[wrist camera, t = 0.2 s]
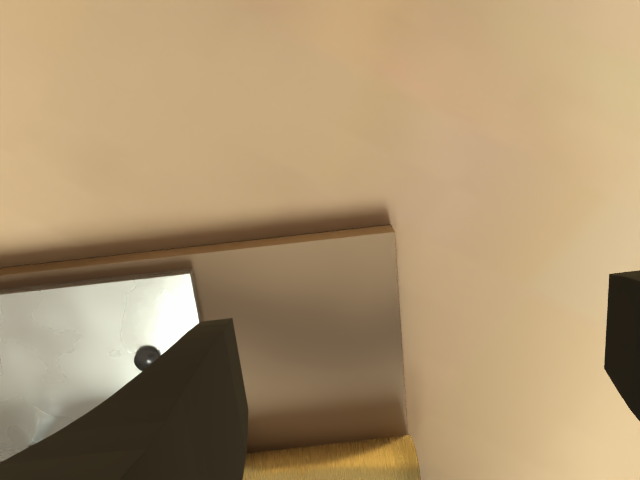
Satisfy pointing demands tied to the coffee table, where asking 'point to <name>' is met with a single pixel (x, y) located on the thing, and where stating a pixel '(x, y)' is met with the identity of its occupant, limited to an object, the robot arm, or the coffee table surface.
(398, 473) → the pin
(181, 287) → the hinge leaves
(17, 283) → the board
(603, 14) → the coffee table surface
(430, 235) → the coffee table surface
